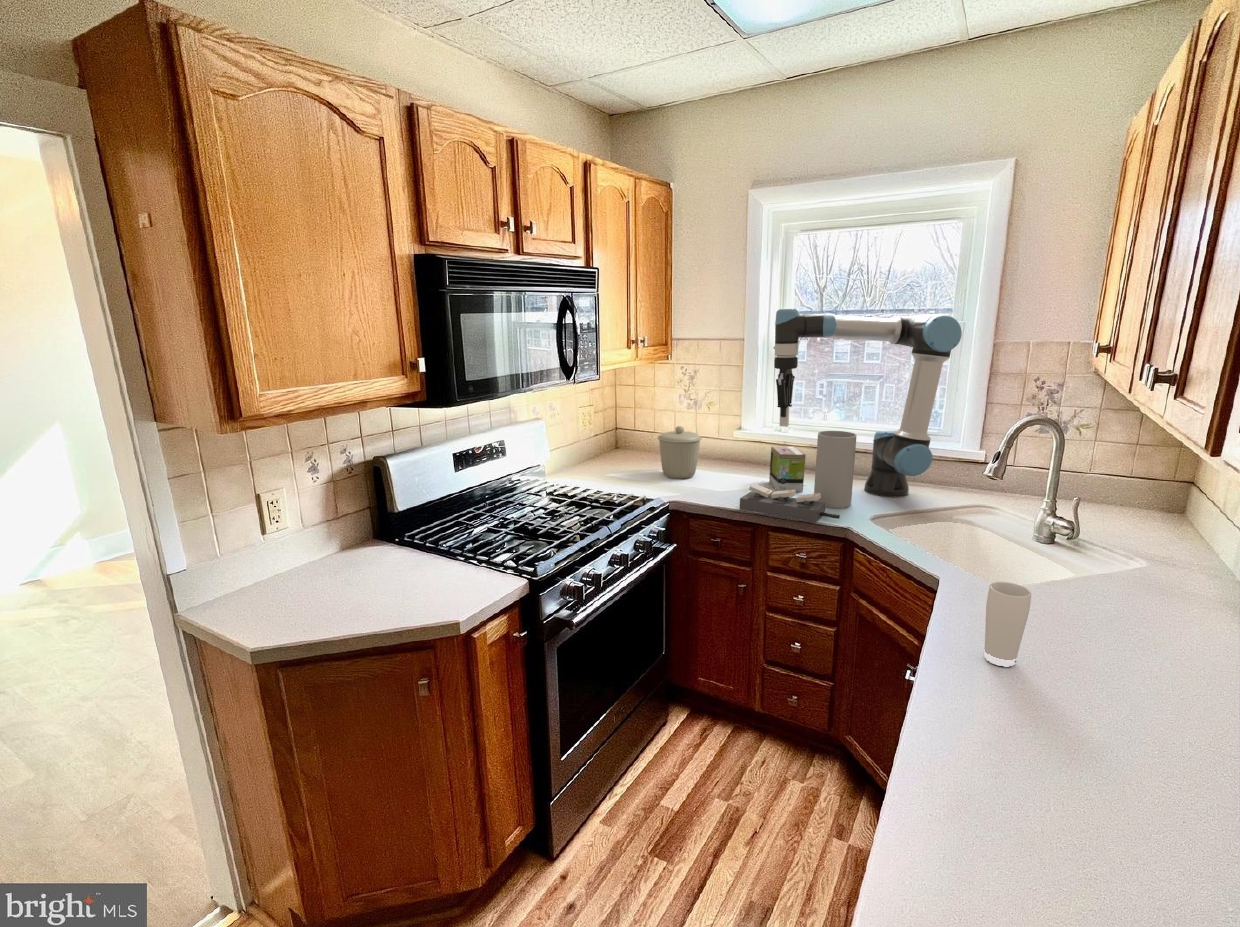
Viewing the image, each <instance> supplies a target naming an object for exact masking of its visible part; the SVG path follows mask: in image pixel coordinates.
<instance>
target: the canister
mask: <svg viewBox="0 0 1240 927" xmlns="http://www.w3.org/2000/svg"><path fill="white" fill-rule="evenodd" d="M656 439H657V440H659V441H658V442H659V445H658V446H659V450H660V451H659V452H660V453H659V454H660V462H661V467H662V468H661V469H662V473H663V475H664V476H665V477H667V478H669V479H677V480H682V479H683V480H684V479H690V478H692V477H694V475H695V473H696V471H697V466H698V458H699V452H700V451H699V450H700V443H701V440H702V439H703V437H702V436H700V435H699V434H698V433H696V432H691V431H686V430H685V427H683V426H682V425H677V426H676V427H675V431H674V430H673V431H666V432H663V433H661V434H660V435H658V436H657V438H656Z"/></svg>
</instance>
